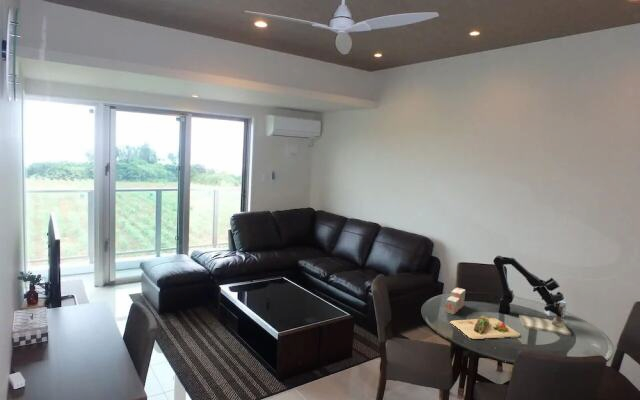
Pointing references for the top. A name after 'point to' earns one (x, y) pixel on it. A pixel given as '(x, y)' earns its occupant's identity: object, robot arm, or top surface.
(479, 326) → the cutting board
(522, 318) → the plywood board
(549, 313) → the light bulb box
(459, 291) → the stack of blocks
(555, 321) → the block
